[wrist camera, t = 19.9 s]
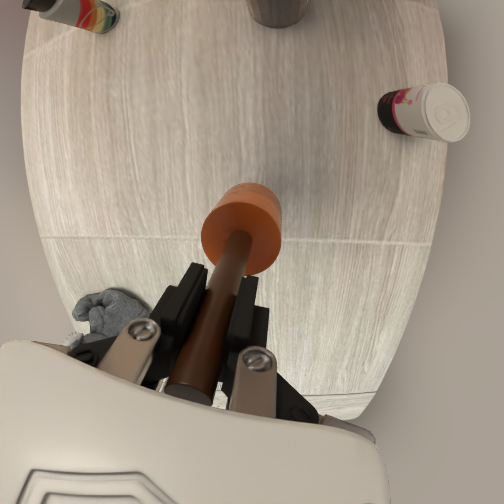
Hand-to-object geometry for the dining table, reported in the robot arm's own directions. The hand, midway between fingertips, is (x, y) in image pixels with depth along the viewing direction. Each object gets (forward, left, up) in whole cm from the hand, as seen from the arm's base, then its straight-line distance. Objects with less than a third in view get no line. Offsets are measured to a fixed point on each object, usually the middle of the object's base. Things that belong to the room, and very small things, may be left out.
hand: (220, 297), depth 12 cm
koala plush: (+42, +7, -30) cm, 53 cm away
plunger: (0, 0, -12) cm, 12 cm away
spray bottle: (+5, -41, -30) cm, 51 cm away
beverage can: (-23, +1, -30) cm, 38 cm away
